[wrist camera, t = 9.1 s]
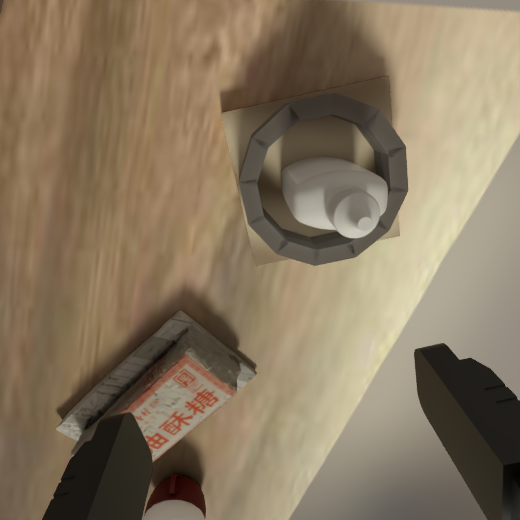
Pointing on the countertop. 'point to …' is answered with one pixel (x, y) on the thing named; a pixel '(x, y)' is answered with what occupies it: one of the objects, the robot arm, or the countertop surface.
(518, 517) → the robot arm
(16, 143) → the countertop surface
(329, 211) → the eye dropper bottle
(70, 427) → the packaged product
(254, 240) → the collar board
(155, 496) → the red-capped knob on stick
